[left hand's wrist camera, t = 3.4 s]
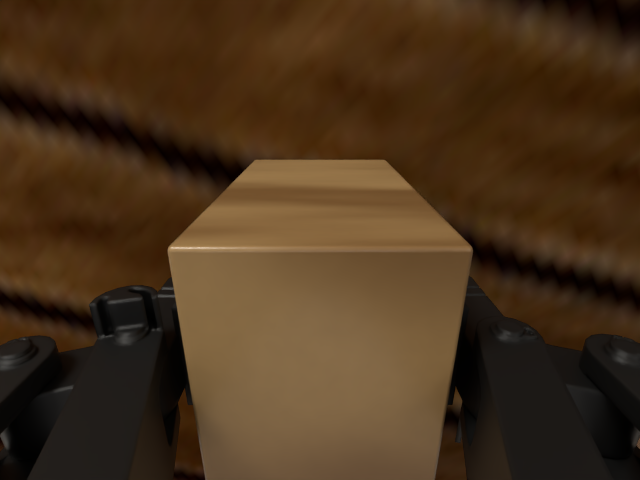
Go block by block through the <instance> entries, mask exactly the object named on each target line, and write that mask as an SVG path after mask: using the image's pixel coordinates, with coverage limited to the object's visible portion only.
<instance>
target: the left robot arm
mask: <svg viewBox="0 0 640 480" xmlns="http://www.w3.org/2000/svg"><path fill="white" fill-rule="evenodd" d="M89 307H90V310H91V314H92V318H93V321H94V325H95V329H96V333H97V336H98V339H97V341H96V343H95V345H94V346H91V347H86V348H81V349H76V350H71V351H65V352H60V353H59V352H58V349H57V346H56V343H55V341H54V340H53V339H52V338H50V337H47V336H30V337H22V338H19V339H14V340H11V341H8V342H7V343H5V344H3V345H1V346H0V437H1V439H2V441H3V444H4V446H5V447H4V448H3V449H2V451H1V452H0V480H173V475H174V466H175V458H176V450H177V442H178V433H179V425H180V412H179V407H178V401H179V399H180V396H181V394H182V392H183V390H184V388H185V391H186V397H187V402H188V405H193V401H192V395H191V389H190V383H189V377H188V371H187V365H186V359H185V353H184V347H183V341H182V335H181V329H180V323H179V317H178V311H177V305H176V299H175V293H174V287H173V281H172V277H171V278H169V279H168V280H167V282H166V283H165V284H164V285H163V287H162V288H161V290H159V291H158V293H157V291H156V290H155V289H153V288H152V287H148V286H143V285H137V286H126V287H121V288H117V289H114V290H111V291H108V292H105V293H104V294H102V295H100V296H98V297H96V298H95V299H94V300H93V301H92V302H91V303H90V304H89ZM455 386H456V388H457V390H458V392H459V394H460V396H461V398H462V400H463V401H462V407H461V412H460V417H459V423H458V428H457V434H456V440H455V442H458V443H460V441H461V436H462V441H463V449H464V457H465V466H466V474H467V480H640V449H639V448H638V447H637V446H636V444H637V442H638V440H639V438H640V343H637V342H635V341H634V340H632V339H629V338H626V337H624V338H623V337H622V336H618V335H608V334H597V335H591V336H590V337H588V338H587V339H586V340H585V344H584V347H583V350H582V351H578V350H573V349H568V348H563V347H557V346H552V345H548V344H545V342H544V340H543V338H542V337H541V335H540V334H539V333H538V332H537V331H536V330H535V329H534V328H532V327H531V326H529V325H528V324H526V323H523V322H521V321H518V320H516V319H512V318H508V317H504V316H503V315H502V314H501V312H500V311H499V310H498V309H497V308H496V306H495V305H494V304H493V303H492V302H491V300H490V299H489V298H488V297H487V296H485V293H484V292H483V291H482V289H481V288H479V286H478V285H477V283H476V282H475V281H474V280H473V279H472V278H471V277H470V276H469V278H468V284H467V290H466V296H465V302H464V308H463V314H462V320H461V326H460V332H459V338H458V344H457V350H456V356H455V362H454V368H453V374H452V380H451V386H450V392H449V398H448V404H447V405H452V404H453V398H454V392H455Z"/></svg>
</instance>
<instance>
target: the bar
mask: <svg viewBox="0 0 640 480" xmlns="http://www.w3.org/2000/svg"><path fill="white" fill-rule="evenodd" d="M472 254H473V249H472V246H471V245H470V244H469V243H468V242H467V241H466V240H465V239H464V238H463V237H462V236H461V235H460V234H459V233H458V232H457V231H456V230H455V229H454V228H453V227H452V226H451V225H450V224H449V223H448V222H447V221H446V220H445V219H444V218H443V217H442V216H441V215H440V214H439V213H438V212H437V211H436V210H435V209H434V208H433V207H432V206H431V205H430V204H429V203H428V202H427V201H426V200H425V199H424V198H423V197H422V196H421V195H420V194H419V193H418V192H417V191H416V190H415V189H414V188H413V187H412V186H411V185H410V184H409V183H408V182H407V181H406V180H405V179H404V178H403V177H402V176H401V175H400V174H399V173H398V172H397V171H396V170H395V169H394V168H393V167H392V166H391V165H390V164H389V163H388V162H387V161H385V160H255V161H254V162H253V163H252V164H251V165H250V166H249V167H248V168H247V169H246V170H245V171H244V172H243V173H242V174H241V175H240V176H239V177H238V178H237V179H236V180H235V181H234V182H233V183H232V184H231V185H230V186H229V187H228V188H227V189H226V190H225V191H224V192H223V193H222V194H221V195H220V196H219V197H218V198H217V199H216V200H215V201H214V202H213V203H212V204H211V205H210V206H209V207H208V208H207V209H206V210H205V211H204V212H203V213H202V214H201V215H200V216H199V217H198V218H197V219H196V220H195V221H194V222H193V223H192V224H191V225H190V226H189V227H188V228H187V229H186V230H185V231H184V232H183V233H182V234H181V235H180V236H179V237H178V238H177V239H176V240H175V241H174V242H173V243H172V244H171V245H170V246H169V247H168V257H169V263H170V269H171V275H172V281H173V287H174V293H175V299H176V305H177V311H178V317H179V323H180V329H181V335H182V341H183V347H184V353H185V359H186V365H187V371H188V377H189V383H190V389H191V395H192V401H193V407H194V413H195V419H196V425H197V431H198V437H199V443H200V449H201V455H202V461H203V467H204V473H205V479H206V480H435V475H436V469H437V463H438V457H439V451H440V445H441V439H442V434H443V428H444V422H445V416H446V410H447V404H448V398H449V392H450V386H451V380H452V374H453V368H454V362H455V356H456V350H457V344H458V338H459V332H460V326H461V320H462V314H463V308H464V302H465V296H466V290H467V284H468V278H469V272H470V266H471V260H472Z"/></svg>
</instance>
